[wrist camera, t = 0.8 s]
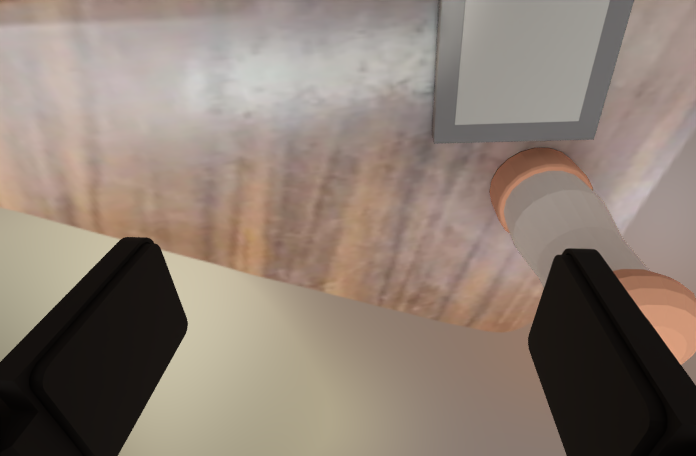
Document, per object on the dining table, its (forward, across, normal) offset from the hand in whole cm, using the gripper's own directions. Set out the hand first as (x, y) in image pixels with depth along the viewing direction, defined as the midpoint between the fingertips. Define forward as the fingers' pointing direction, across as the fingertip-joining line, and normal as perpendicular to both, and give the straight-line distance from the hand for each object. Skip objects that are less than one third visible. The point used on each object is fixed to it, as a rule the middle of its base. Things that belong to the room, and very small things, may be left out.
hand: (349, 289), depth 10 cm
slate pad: (+25, -10, -1) cm, 27 cm away
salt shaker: (+25, -14, +10) cm, 31 cm away
